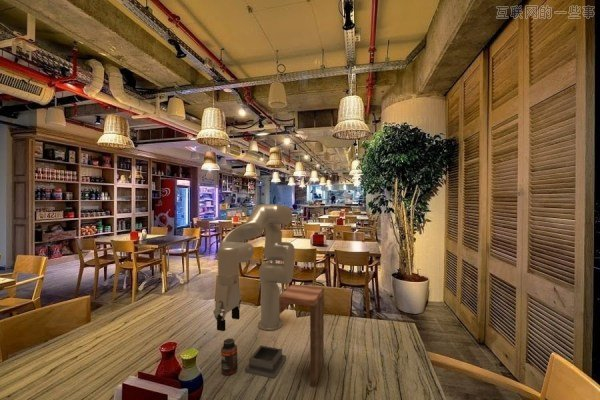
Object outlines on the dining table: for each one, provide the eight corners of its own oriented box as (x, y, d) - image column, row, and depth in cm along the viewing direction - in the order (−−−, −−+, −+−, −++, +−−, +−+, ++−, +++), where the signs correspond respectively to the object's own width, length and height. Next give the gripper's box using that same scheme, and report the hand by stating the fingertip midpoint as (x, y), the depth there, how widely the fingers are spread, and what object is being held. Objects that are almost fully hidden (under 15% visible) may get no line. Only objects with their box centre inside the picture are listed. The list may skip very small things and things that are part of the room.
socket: (259, 354, 113) (259, 343, 113) (286, 359, 109) (286, 348, 109) (244, 371, 101) (244, 360, 101) (274, 378, 98) (274, 366, 98)
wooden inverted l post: (292, 357, 111) (292, 284, 110) (323, 363, 107) (323, 287, 106) (279, 379, 97) (279, 296, 97) (314, 387, 93) (314, 300, 93)
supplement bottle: (238, 365, 105) (238, 336, 105) (235, 375, 99) (235, 345, 99) (223, 365, 105) (223, 336, 105) (219, 376, 99) (219, 345, 99)
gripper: (232, 272, 111) (232, 313, 111) (205, 285, 95) (205, 333, 95) (248, 273, 109) (248, 316, 109) (224, 287, 92) (224, 337, 92)
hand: (228, 324), depth 102 cm, fingers open, 9 cm apart
